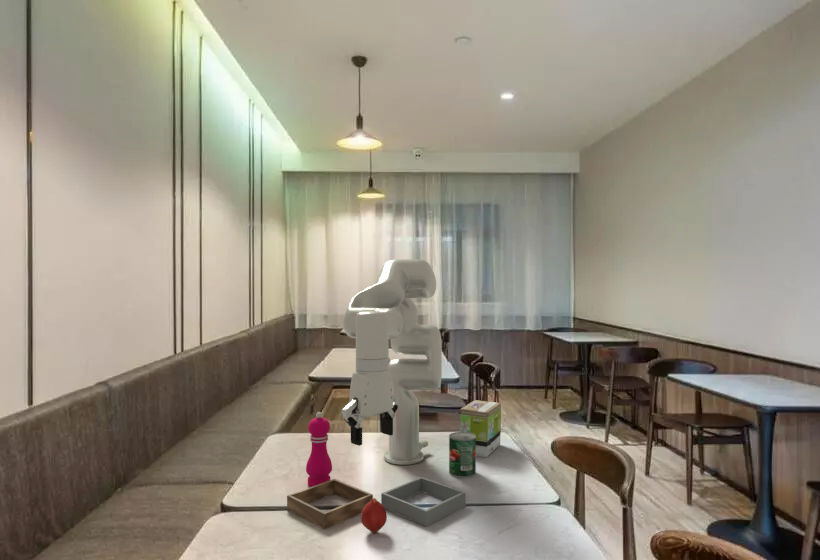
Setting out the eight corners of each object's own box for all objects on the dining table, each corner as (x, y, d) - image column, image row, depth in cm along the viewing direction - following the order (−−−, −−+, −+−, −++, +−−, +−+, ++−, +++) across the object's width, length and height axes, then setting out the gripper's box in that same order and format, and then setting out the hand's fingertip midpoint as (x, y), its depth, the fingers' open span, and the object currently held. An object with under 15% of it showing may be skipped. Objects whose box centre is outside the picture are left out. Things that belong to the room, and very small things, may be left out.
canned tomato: (443, 472, 158) (443, 435, 158) (461, 466, 163) (462, 430, 163) (462, 480, 152) (463, 441, 152) (481, 473, 157) (481, 436, 157)
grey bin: (421, 489, 145) (421, 476, 145) (465, 506, 135) (465, 492, 135) (381, 507, 134) (381, 493, 134) (426, 526, 124) (426, 511, 124)
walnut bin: (334, 491, 144) (334, 478, 144) (372, 508, 134) (372, 494, 133) (287, 509, 133) (287, 495, 133) (324, 529, 123) (324, 514, 123)
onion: (361, 526, 124) (361, 492, 124) (386, 525, 124) (386, 491, 124) (361, 539, 118) (360, 503, 118) (387, 538, 118) (387, 502, 118)
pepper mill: (326, 489, 145) (326, 416, 145) (301, 487, 146) (301, 414, 146) (335, 479, 152) (335, 409, 152) (311, 477, 154) (311, 408, 153)
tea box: (488, 458, 170) (488, 411, 170) (458, 453, 175) (458, 408, 174) (501, 444, 184) (501, 401, 184) (473, 440, 188) (473, 398, 188)
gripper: (387, 358, 132) (387, 427, 132) (332, 368, 119) (332, 444, 119) (409, 362, 127) (409, 434, 127) (354, 372, 114) (354, 452, 114)
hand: (372, 439), depth 123 cm, fingers open, 9 cm apart
